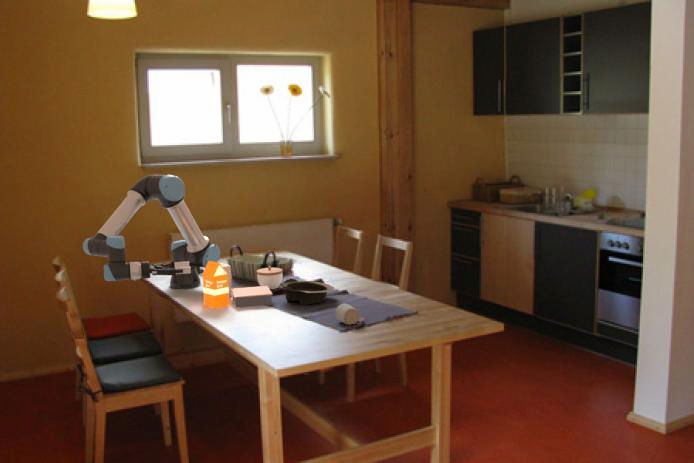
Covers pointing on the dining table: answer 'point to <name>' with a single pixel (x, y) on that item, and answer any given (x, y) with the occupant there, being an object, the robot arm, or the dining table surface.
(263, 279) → the lidded bowl
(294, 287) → the stone bowl
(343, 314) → the ceramic mug
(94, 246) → the robot arm
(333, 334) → the dining table surface
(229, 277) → the supplement box
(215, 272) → the orange juice
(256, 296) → the podium
